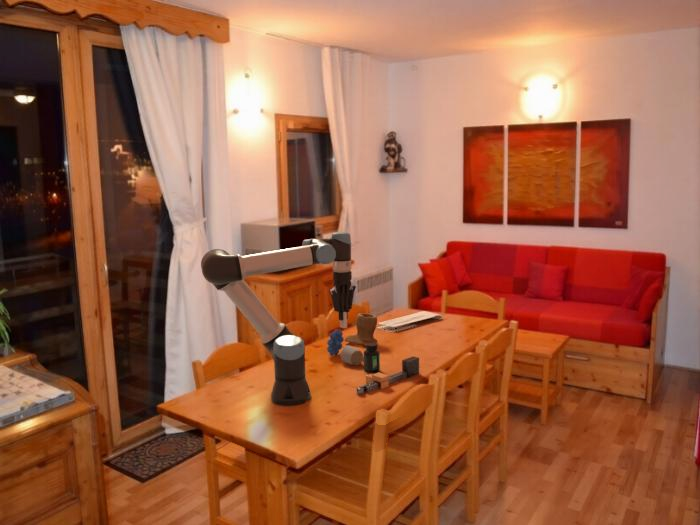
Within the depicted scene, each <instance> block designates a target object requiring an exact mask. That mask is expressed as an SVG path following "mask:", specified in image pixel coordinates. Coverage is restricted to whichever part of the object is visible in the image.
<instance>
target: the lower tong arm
mask: <svg viewBox="0 0 700 525" xmlns="http://www.w3.org/2000/svg"><path fill="white" fill-rule="evenodd" d="M415 357H416V358H413V359H410V360H407V361H405V367H406V372H403V373H400V374H398V375H395V376H392V377H390V378H389V385H391V384H394V383H396V382H401V381H403V380H406V379H409V378H412V377H415V376H418V375H419V374H420V357H417V356H415ZM365 388H366V391H365V393H366V394H367V393H368V394H369V393H371V392H373V391H376V390H378V389H381V383H380V382H377V383H374V384H371V385H369V386H366V387H365Z"/></svg>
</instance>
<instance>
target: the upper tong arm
mask: <svg viewBox="0 0 700 525" xmlns="http://www.w3.org/2000/svg"><path fill="white" fill-rule="evenodd" d="M416 357H417V356H410V357H407V358H404V359H402V360H401V369H402V370H401V371H399V372H395V373H393V374H390V375H389V378H390V377H392V376H395V375H398V374H400V373H403V372H406V367H405V361H407V360H410V359H413V358H416ZM374 383H377V381H373V382H371V383H366V384H365V383H364V384H363V385H360V386H357V387H356V394H357V396H363V395H364V394H365V393H366V388H365V387H366V386H369V385H371V384H374Z"/></svg>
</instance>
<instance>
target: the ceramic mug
mask: <svg viewBox="0 0 700 525" xmlns="http://www.w3.org/2000/svg"><path fill="white" fill-rule="evenodd" d="M340 359H341V360H342V361H343V362H344V363H347V364H349V365H351V366H353V367H354V366H355V367H356V366H359V365H361V364H362V362H363V363H364V353H363V352H362V351H361V350H360V349H357V348H355V347H354V346H352V345H351V344H350V345H346V346H344V347H342V348H341V352H340Z"/></svg>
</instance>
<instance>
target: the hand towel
mask: <svg viewBox="0 0 700 525" xmlns="http://www.w3.org/2000/svg"><path fill="white" fill-rule="evenodd" d="M427 319H436V320H442V319H443V316H442V315H441V314H438V313H435V312H430V311H426V310H425V311H424V310H423V311H421V310H420V311H418V312H415V313H412V314H411V313H410V314H408V315H403V316H400V317H396V318H391V319H387V320H385V321H381V322H377V324H378V325H382V326H378V327H377V326H376V329H378V330H381V331H384V329H386V330H385V332H388V333H391V332H393V333H396V331H397V332H400V331H403V330H407V329H411V327H412V328H414V326H415V327H418V325H417V324H415V323H416V322H419V321H424V320H427ZM413 323H414V324H413ZM390 328H391V329H392V330H391V329H390ZM395 328H397V329H395ZM393 329H394V330H393Z"/></svg>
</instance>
